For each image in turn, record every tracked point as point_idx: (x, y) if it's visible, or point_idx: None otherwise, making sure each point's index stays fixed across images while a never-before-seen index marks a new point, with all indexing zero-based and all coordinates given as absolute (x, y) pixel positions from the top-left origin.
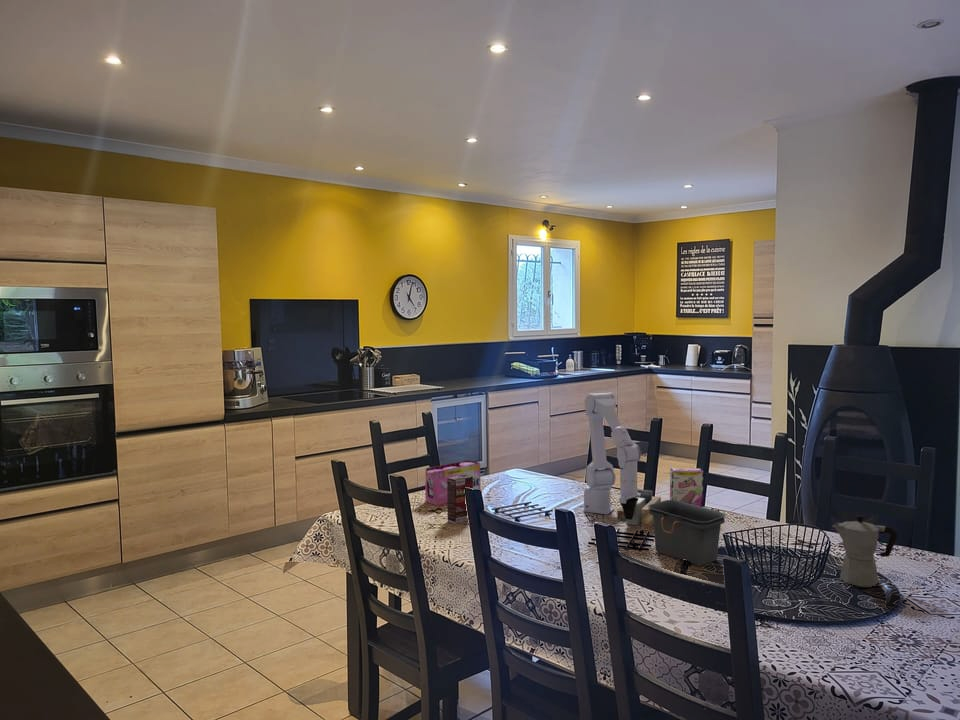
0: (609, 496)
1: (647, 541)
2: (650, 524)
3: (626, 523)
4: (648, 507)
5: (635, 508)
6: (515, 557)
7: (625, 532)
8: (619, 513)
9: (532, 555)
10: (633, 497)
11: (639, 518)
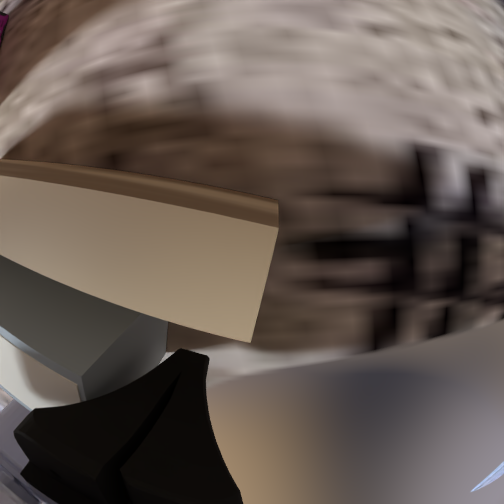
0: (9, 434)
1: (501, 208)
2: (183, 181)
3: (164, 353)
4: (112, 219)
5: (105, 372)
6: (493, 478)
7: (360, 352)
8: None
9: (497, 469)
10: (38, 466)
11: None
